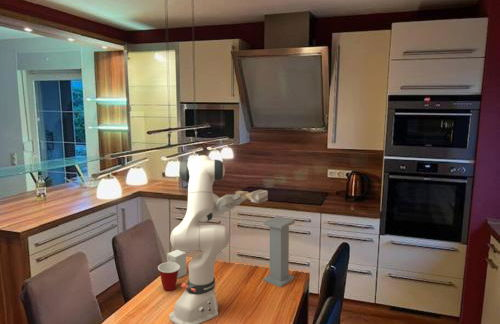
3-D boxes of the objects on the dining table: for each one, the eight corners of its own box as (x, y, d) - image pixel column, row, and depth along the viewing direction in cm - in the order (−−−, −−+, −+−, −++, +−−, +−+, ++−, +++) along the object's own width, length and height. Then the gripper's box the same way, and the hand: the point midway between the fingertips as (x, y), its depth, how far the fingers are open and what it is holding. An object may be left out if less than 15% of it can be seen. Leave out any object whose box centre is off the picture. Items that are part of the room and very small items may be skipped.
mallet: (267, 200, 195) (267, 190, 194) (258, 203, 189) (258, 193, 188) (242, 194, 206) (242, 186, 205) (232, 197, 200) (232, 188, 199)
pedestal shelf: (281, 287, 183) (281, 226, 178) (263, 280, 190) (263, 221, 185) (294, 278, 192) (294, 220, 187) (277, 272, 199) (277, 216, 194)
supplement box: (178, 270, 203) (177, 249, 201) (187, 274, 198) (186, 252, 196) (167, 275, 197) (166, 253, 195) (176, 279, 193) (175, 256, 191)
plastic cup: (174, 295, 176) (173, 272, 175) (154, 292, 179) (153, 269, 178) (184, 285, 187) (183, 262, 185) (165, 282, 190) (164, 260, 188)
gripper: (212, 201, 201) (227, 192, 193) (237, 194, 217) (252, 185, 208) (216, 211, 200) (232, 203, 192) (241, 204, 216) (257, 195, 207)
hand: (243, 194), depth 200 cm, fingers closed on mallet, 3 cm apart
